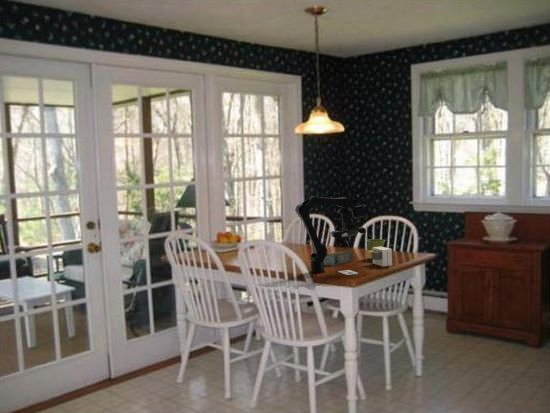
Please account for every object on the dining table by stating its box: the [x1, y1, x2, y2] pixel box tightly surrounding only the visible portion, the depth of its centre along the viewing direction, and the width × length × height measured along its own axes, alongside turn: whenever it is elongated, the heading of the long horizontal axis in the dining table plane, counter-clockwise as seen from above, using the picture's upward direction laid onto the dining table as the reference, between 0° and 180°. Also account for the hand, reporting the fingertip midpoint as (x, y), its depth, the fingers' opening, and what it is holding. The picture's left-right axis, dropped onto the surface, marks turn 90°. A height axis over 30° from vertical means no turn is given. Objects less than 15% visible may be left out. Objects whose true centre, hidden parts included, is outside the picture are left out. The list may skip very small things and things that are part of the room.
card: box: [337, 269, 359, 276], centre depth 309 cm, size 7×10×1 cm
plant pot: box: [365, 238, 386, 260], centre depth 349 cm, size 12×12×11 cm
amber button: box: [366, 250, 377, 260], centre depth 330 cm, size 4×3×4 cm
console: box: [372, 246, 393, 267], centre depth 329 cm, size 6×11×10 cm, turn 22°
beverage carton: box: [324, 250, 354, 267], centre depth 339 cm, size 8×19×7 cm, turn 137°
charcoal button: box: [371, 252, 382, 260], centre depth 325 cm, size 4×3×4 cm
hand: (350, 247), depth 318 cm, fingers closed
